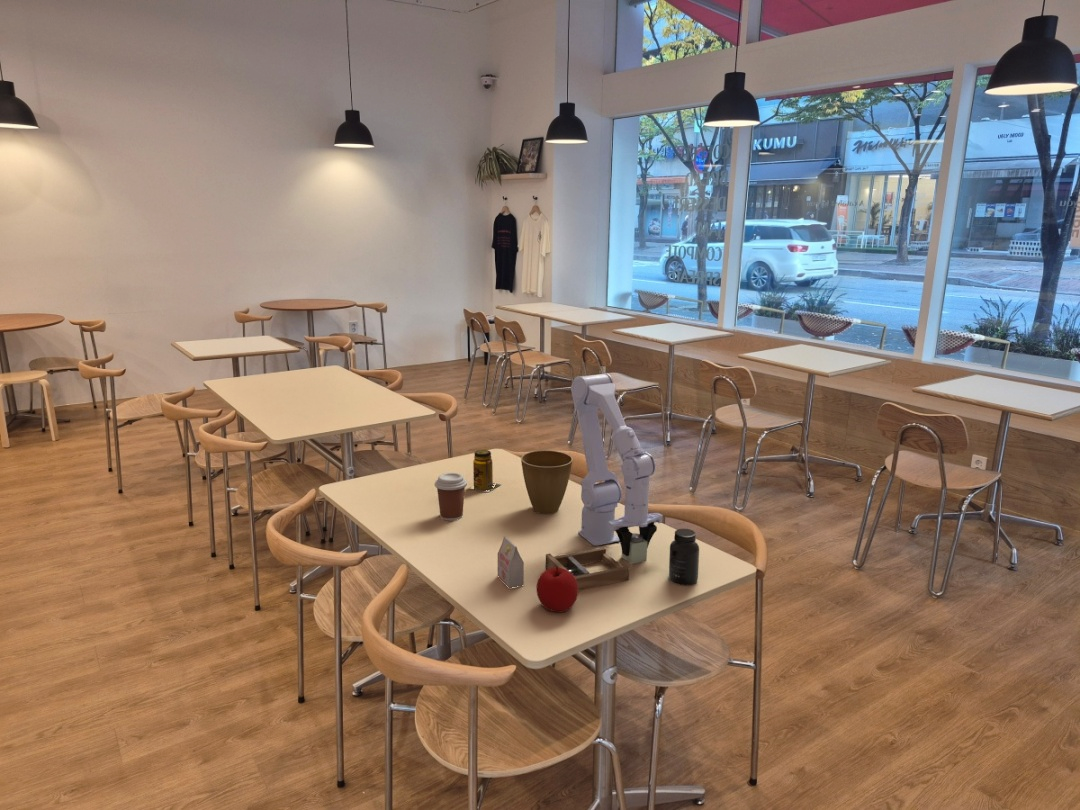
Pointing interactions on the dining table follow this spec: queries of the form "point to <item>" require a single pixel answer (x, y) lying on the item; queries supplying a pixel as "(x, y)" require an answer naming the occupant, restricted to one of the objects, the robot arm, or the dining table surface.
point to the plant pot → (546, 478)
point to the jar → (637, 549)
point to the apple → (557, 589)
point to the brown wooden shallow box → (596, 578)
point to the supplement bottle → (684, 558)
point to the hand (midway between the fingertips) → (634, 552)
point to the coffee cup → (451, 495)
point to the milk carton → (510, 564)
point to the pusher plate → (575, 567)
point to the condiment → (483, 471)
